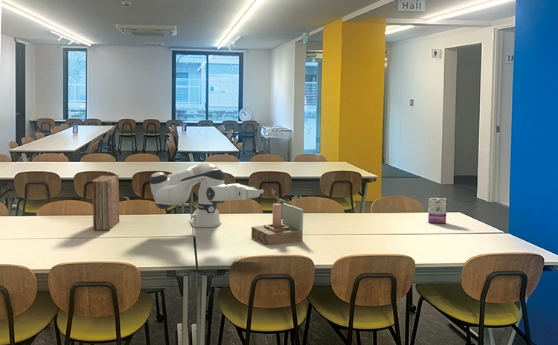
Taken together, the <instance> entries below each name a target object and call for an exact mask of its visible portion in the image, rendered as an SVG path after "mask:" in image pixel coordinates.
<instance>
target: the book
mask: <svg viewBox="0 0 558 345" xmlns="http://www.w3.org/2000/svg"><path fill="white" fill-rule="evenodd" d="M91 186H92V187H91V188H92V190H91V191H92V192H91V194H92V225H93V226H92V227H93V228H92V229H93V232H94V231H108V232H110V231H111V230H112V229H113V228H114V227H115V226H117V225H118V223H120V189H119V187H120V184H119V174H102V175H100V176H99V177H96V178H95V179H93V180H91ZM110 229H111V230H110Z"/></svg>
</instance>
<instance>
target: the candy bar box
mask: <svg viewBox="0 0 558 345" xmlns="http://www.w3.org/2000/svg"><path fill="white" fill-rule="evenodd" d="M447 203H448V199H447V198H445V197H444V198H442V197H428V211H427V214H428V216H427V222H428V224H436V225H437V224H439V225H446V223H447V207H448V205H447Z"/></svg>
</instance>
